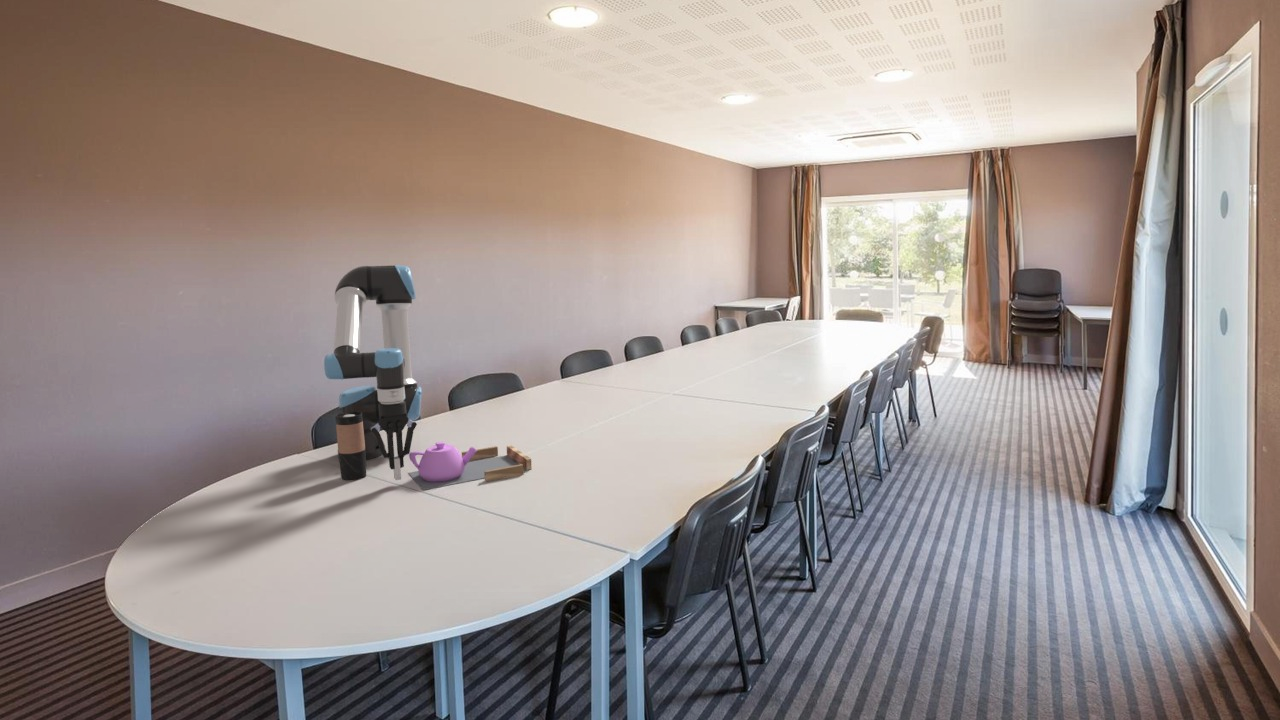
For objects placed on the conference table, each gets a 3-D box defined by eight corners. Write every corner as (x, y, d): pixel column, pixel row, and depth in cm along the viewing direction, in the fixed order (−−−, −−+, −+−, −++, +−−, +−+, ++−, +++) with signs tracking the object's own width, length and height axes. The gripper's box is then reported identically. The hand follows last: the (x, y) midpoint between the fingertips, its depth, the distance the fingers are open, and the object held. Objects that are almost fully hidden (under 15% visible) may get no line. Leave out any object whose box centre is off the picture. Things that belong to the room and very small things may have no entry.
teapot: (480, 478, 197) (478, 444, 195) (411, 486, 190) (408, 452, 188) (475, 464, 210) (473, 433, 208) (410, 472, 203) (408, 439, 201)
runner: (408, 473, 203) (408, 472, 203) (511, 454, 221) (511, 454, 220) (422, 490, 188) (422, 489, 188) (531, 469, 205) (531, 468, 205)
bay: (462, 460, 215) (461, 450, 214) (507, 452, 223) (507, 442, 223) (486, 481, 194) (485, 470, 194) (535, 472, 203) (535, 461, 202)
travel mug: (357, 481, 196) (352, 417, 192) (335, 480, 197) (329, 416, 194) (372, 473, 203) (367, 411, 200) (350, 472, 204) (345, 410, 201)
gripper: (370, 406, 182) (376, 486, 186) (417, 401, 189) (423, 478, 193) (365, 401, 188) (372, 479, 192) (411, 396, 195) (417, 471, 199)
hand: (397, 478), depth 192 cm, fingers closed
